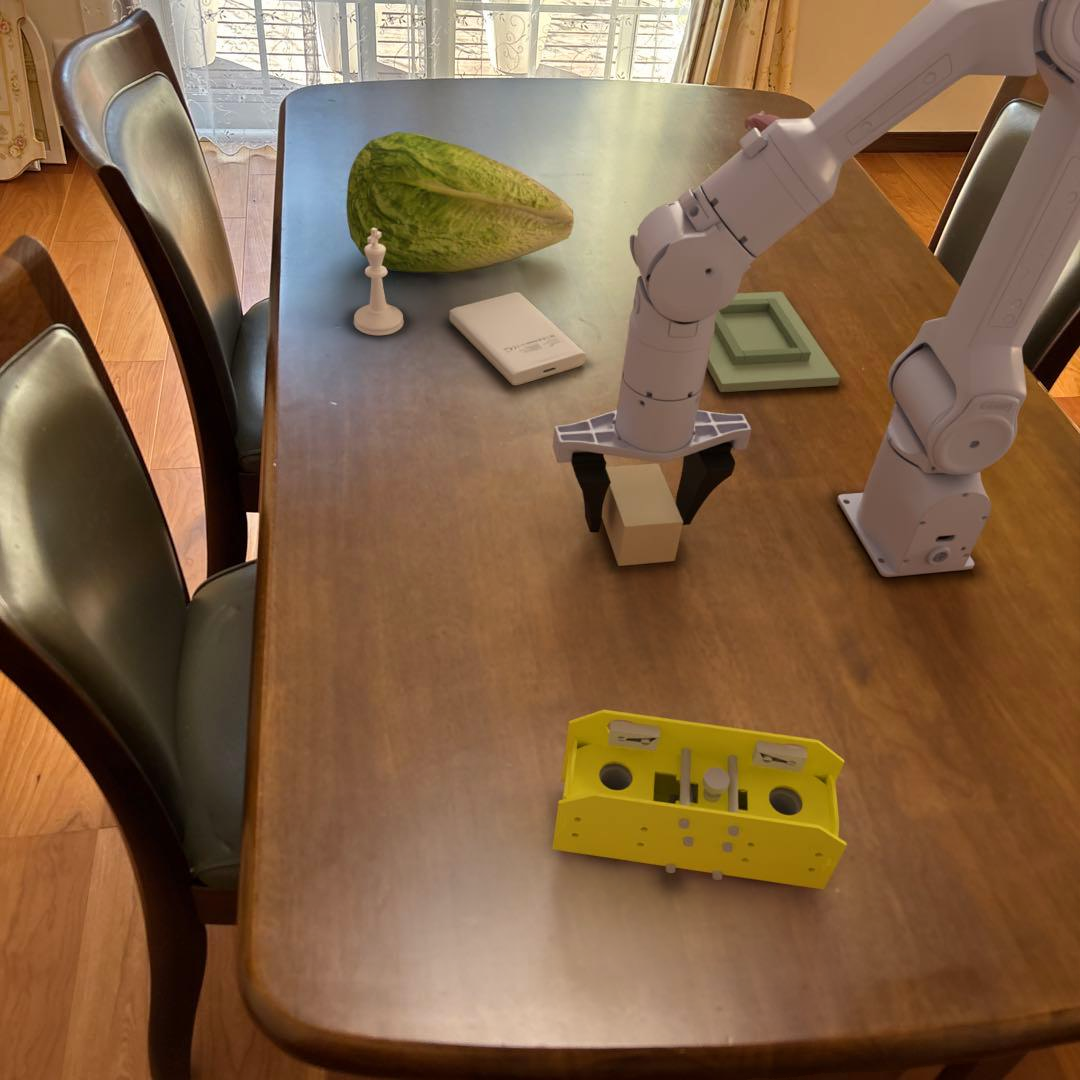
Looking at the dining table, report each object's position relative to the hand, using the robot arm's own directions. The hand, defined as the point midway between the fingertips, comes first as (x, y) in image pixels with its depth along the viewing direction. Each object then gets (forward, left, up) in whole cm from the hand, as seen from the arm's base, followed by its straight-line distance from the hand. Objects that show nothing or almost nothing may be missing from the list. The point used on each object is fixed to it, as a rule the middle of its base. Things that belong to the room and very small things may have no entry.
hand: (637, 520), depth 81 cm
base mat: (+26, -19, -1) cm, 32 cm away
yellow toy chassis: (-27, +4, -2) cm, 27 cm away
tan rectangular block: (0, 0, -1) cm, 1 cm away
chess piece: (+33, +18, -2) cm, 38 cm away
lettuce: (+45, +8, -2) cm, 46 cm away
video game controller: (+69, -37, -2) cm, 78 cm away
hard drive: (+28, +5, -2) cm, 28 cm away
